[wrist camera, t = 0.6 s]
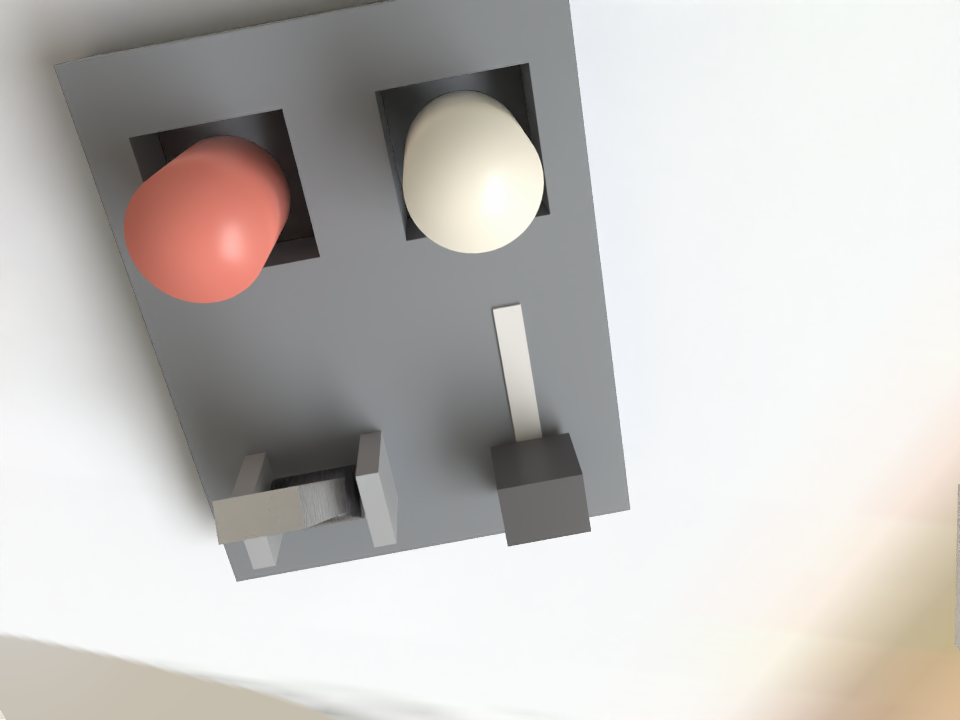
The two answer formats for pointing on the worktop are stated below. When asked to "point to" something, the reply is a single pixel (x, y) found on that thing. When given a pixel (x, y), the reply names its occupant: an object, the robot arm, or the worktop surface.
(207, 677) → the worktop surface
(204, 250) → the button red
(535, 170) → the button ivory
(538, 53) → the panel
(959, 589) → the robot arm
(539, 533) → the slider knob
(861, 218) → the worktop surface
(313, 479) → the lever
